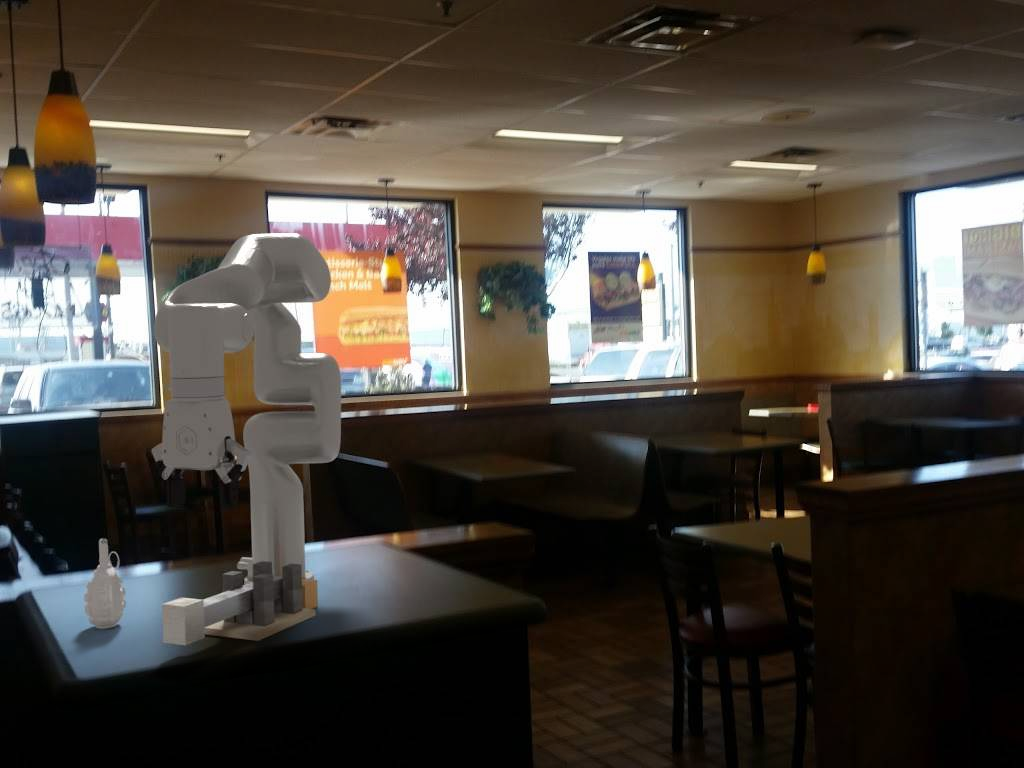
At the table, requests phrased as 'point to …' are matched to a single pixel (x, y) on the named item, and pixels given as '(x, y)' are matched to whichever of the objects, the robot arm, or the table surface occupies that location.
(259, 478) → the robot arm
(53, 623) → the table surface
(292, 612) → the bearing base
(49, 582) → the table surface
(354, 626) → the table surface
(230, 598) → the block ended bar
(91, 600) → the hand grenade
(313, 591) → the block
